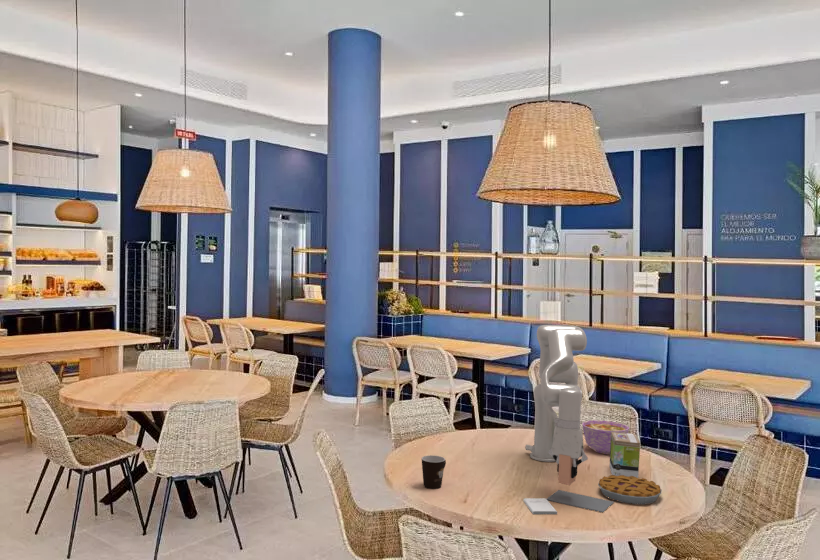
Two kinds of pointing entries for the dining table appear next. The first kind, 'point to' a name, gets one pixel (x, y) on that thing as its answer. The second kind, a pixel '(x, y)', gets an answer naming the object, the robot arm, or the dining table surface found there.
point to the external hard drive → (539, 506)
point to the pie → (629, 489)
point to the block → (565, 470)
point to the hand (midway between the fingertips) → (567, 475)
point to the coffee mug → (433, 471)
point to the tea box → (624, 454)
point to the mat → (580, 501)
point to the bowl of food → (601, 434)
